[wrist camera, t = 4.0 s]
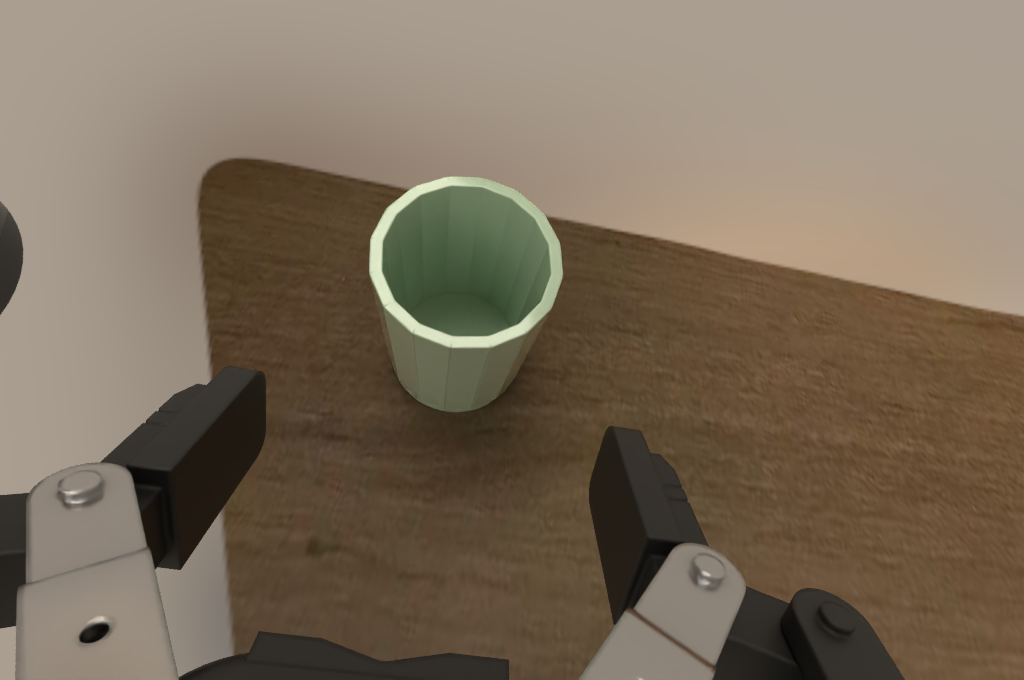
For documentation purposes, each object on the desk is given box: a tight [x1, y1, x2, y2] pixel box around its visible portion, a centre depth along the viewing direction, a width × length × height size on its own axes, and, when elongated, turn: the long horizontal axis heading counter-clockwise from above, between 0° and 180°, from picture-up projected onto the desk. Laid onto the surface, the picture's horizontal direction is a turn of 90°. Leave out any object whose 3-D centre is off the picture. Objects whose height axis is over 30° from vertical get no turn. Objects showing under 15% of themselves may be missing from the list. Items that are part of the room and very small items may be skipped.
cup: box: [369, 176, 563, 412], centre depth 21 cm, size 6×6×9 cm
